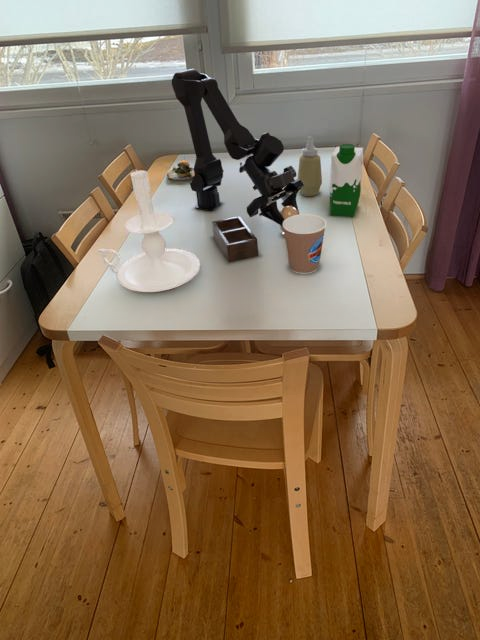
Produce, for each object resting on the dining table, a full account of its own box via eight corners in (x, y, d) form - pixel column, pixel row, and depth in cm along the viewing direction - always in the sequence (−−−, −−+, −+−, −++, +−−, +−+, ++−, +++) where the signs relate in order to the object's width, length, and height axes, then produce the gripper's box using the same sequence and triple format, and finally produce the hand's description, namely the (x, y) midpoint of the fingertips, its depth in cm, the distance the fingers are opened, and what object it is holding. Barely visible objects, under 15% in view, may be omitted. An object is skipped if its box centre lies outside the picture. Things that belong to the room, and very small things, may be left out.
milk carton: (326, 216, 140) (329, 148, 129) (332, 204, 147) (335, 138, 135) (356, 218, 138) (362, 149, 126) (360, 206, 145) (366, 139, 133)
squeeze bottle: (294, 196, 154) (293, 140, 143) (300, 187, 160) (301, 132, 149) (318, 199, 151) (319, 141, 141) (324, 189, 157) (326, 133, 146)
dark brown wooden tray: (228, 262, 123) (226, 245, 120) (213, 237, 135) (211, 221, 132) (258, 256, 124) (257, 239, 121) (241, 232, 136) (239, 216, 133)
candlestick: (120, 258, 129) (93, 155, 112) (208, 259, 125) (195, 152, 108) (90, 301, 112) (54, 188, 96) (191, 303, 109) (172, 186, 92)
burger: (161, 178, 177) (157, 158, 173) (186, 169, 183) (183, 150, 179) (180, 185, 170) (177, 165, 165) (205, 176, 176) (203, 156, 171)
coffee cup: (314, 281, 112) (315, 236, 105) (276, 272, 117) (274, 228, 110) (331, 262, 119) (333, 218, 112) (294, 253, 124) (294, 211, 117)
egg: (280, 239, 131) (279, 210, 126) (279, 231, 135) (278, 203, 130) (299, 238, 130) (299, 209, 125) (297, 230, 135) (297, 201, 129)
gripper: (251, 169, 118) (286, 221, 118) (299, 149, 128) (330, 197, 128) (232, 192, 127) (264, 241, 127) (278, 172, 137) (307, 217, 137)
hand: (292, 223), depth 129 cm, fingers closed on egg, 5 cm apart
